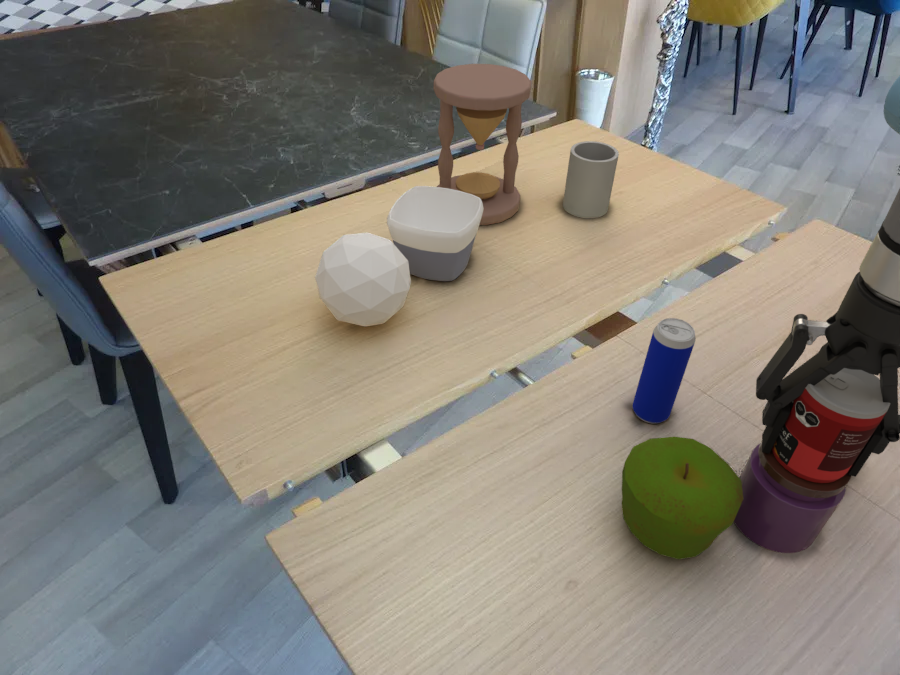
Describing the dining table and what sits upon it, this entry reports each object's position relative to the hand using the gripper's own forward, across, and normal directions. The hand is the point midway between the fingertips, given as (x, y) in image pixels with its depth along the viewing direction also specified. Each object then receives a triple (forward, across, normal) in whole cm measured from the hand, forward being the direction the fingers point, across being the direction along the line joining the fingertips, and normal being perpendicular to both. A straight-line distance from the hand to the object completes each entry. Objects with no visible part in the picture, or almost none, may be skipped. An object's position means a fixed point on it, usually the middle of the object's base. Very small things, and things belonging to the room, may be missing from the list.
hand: (807, 454), depth 73 cm
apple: (+12, -12, -6) cm, 18 cm away
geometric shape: (+12, -62, +17) cm, 65 cm away
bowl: (+12, -57, +35) cm, 68 cm away
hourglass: (+12, -57, +58) cm, 82 cm away
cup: (+12, -36, +65) cm, 75 cm away
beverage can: (+12, -16, +12) cm, 23 cm away
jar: (+11, 0, 0) cm, 11 cm away
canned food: (0, 0, 0) cm, 0 cm away
